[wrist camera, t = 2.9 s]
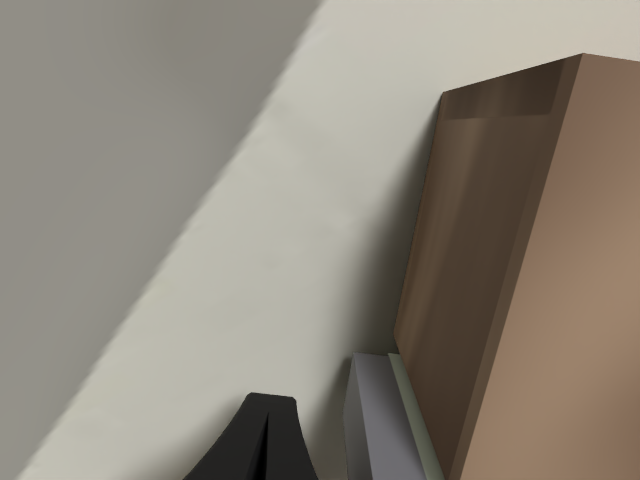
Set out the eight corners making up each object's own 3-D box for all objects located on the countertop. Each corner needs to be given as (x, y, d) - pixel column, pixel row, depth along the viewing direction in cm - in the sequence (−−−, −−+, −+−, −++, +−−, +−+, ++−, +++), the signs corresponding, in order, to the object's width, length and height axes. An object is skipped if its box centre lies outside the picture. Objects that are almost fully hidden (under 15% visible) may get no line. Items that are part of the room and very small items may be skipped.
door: (571, 375, 14) (735, 535, 8) (551, 432, 14) (691, 616, 9) (352, 348, 13) (375, 497, 8) (342, 408, 14) (356, 584, 9)
